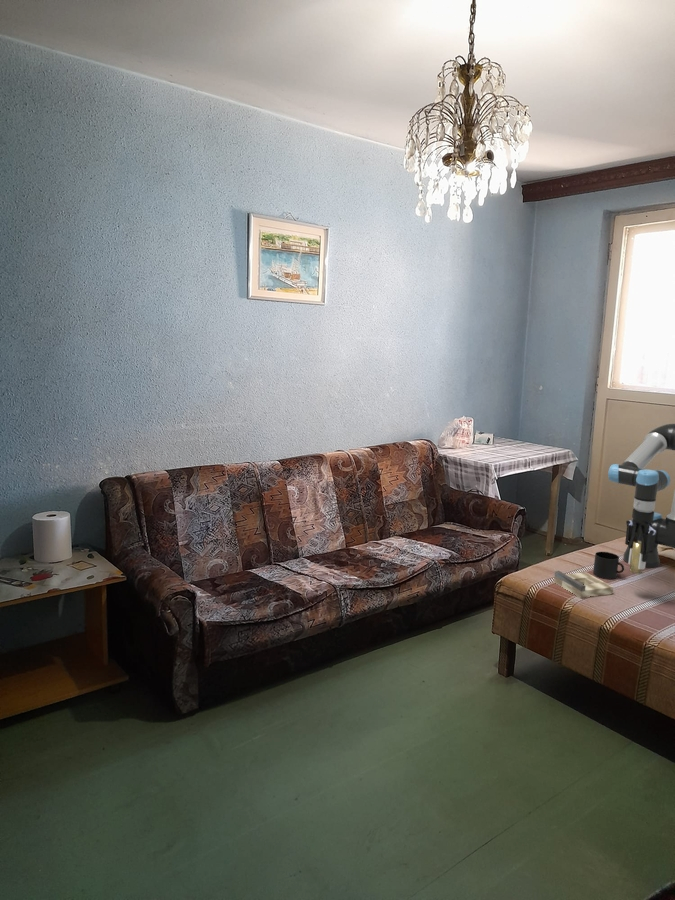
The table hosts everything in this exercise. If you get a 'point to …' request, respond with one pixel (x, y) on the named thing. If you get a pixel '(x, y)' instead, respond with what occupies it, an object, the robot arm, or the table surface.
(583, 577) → the jig
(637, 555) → the pale yellow cylinder
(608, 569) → the mug
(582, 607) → the table surface
